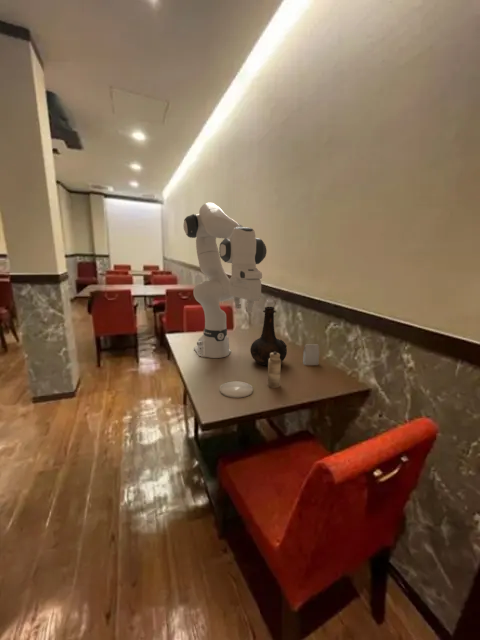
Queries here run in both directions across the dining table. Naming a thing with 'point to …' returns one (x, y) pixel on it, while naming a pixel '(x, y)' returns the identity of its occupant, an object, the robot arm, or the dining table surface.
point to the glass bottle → (268, 341)
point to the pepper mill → (274, 370)
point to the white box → (311, 354)
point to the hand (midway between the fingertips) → (243, 310)
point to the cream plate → (236, 389)
